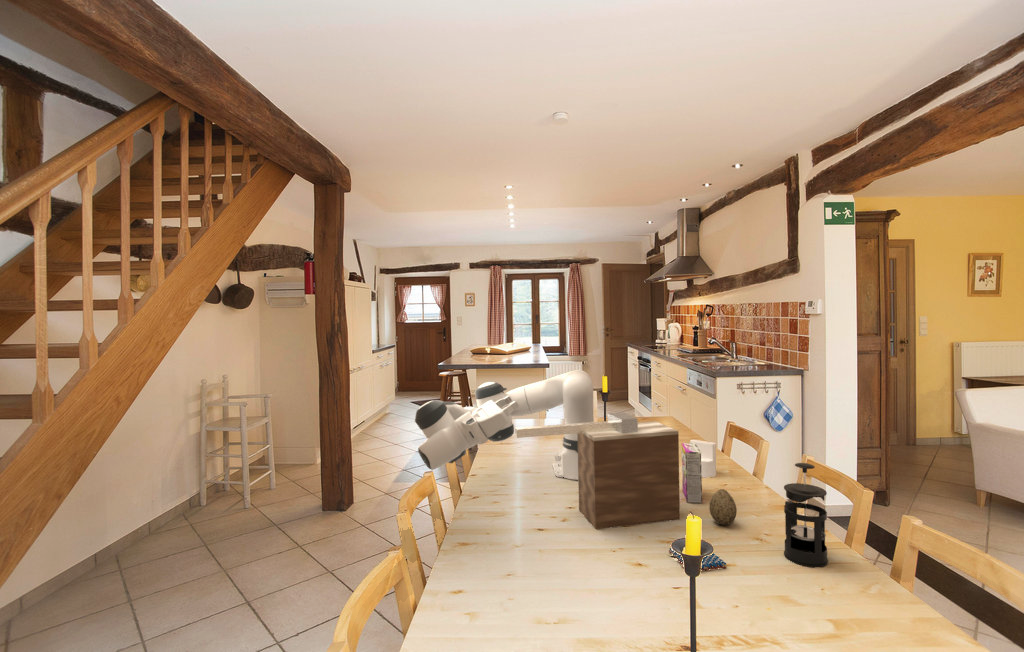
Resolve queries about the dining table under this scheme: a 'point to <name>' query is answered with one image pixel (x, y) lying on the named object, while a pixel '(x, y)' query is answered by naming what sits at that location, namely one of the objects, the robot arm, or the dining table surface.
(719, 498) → the decorative egg
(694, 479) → the candy bar box
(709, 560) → the woven mat
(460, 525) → the dining table surface
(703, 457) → the base with upright slab
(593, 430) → the bar
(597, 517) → the dark wood block
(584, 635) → the dining table surface
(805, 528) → the french press
